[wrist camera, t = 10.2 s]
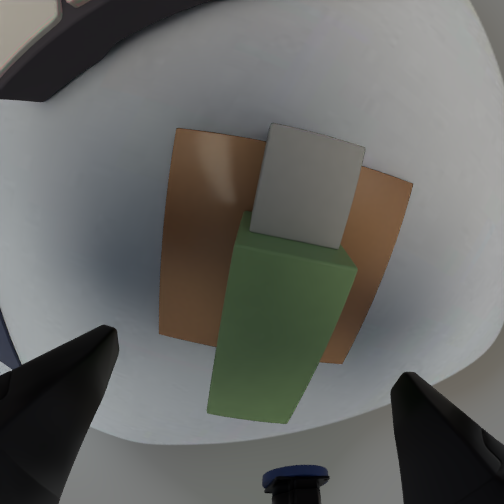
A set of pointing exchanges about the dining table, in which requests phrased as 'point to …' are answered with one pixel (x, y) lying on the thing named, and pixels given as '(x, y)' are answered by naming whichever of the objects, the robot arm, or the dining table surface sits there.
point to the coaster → (226, 228)
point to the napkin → (7, 347)
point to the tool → (285, 276)
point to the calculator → (66, 39)
